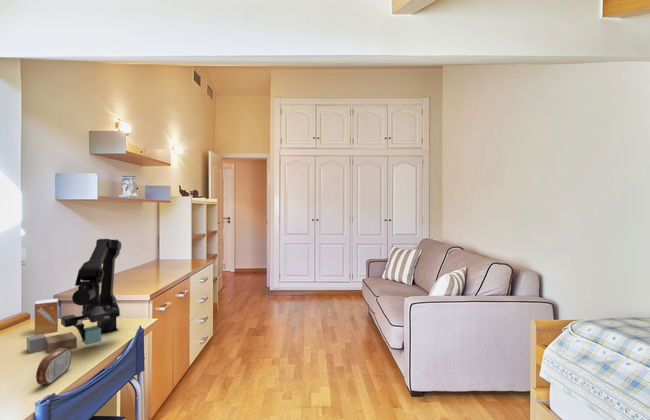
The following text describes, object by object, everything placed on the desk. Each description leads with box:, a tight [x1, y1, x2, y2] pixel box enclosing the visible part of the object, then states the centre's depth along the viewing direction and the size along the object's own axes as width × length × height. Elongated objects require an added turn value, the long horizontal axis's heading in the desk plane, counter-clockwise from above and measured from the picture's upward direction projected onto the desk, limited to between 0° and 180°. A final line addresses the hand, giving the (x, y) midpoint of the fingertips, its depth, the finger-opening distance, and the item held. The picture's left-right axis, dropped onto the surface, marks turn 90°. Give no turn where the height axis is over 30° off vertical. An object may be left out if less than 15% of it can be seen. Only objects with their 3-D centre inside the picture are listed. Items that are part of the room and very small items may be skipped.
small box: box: [34, 297, 59, 335], centre depth 169 cm, size 8×6×13 cm
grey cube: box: [26, 333, 47, 355], centre depth 148 cm, size 5×5×5 cm
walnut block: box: [45, 331, 78, 355], centre depth 151 cm, size 9×9×4 cm
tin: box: [35, 348, 72, 386], centre depth 126 cm, size 15×3×8 cm, turn 5°
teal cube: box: [81, 325, 102, 346], centre depth 151 cm, size 5×5×5 cm
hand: (91, 338), depth 151 cm, fingers closed on teal cube, 5 cm apart
